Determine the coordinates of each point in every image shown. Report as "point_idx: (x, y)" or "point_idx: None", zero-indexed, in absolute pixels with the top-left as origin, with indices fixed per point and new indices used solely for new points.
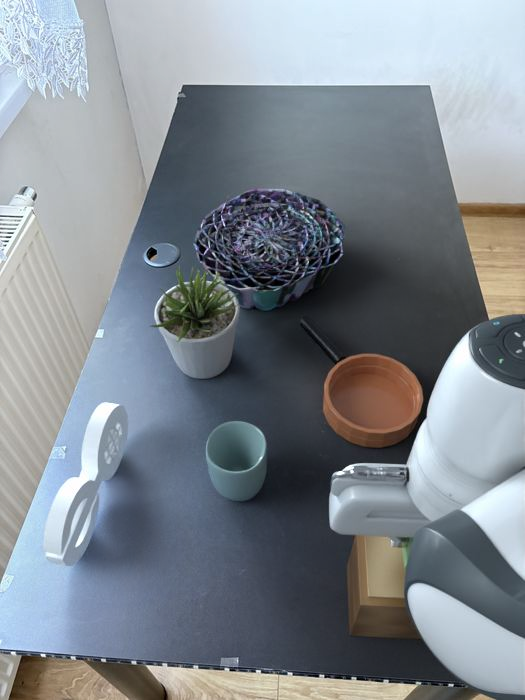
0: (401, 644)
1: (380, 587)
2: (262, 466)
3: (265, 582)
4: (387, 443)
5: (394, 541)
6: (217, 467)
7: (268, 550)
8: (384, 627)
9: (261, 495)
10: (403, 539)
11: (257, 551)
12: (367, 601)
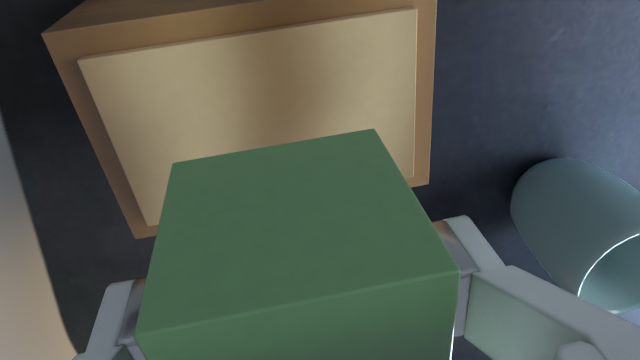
0: None
1: (379, 44)
2: (576, 246)
3: (516, 22)
4: None
5: (506, 266)
6: None
7: (504, 84)
8: None
9: (506, 174)
10: (459, 285)
11: (524, 78)
12: None
